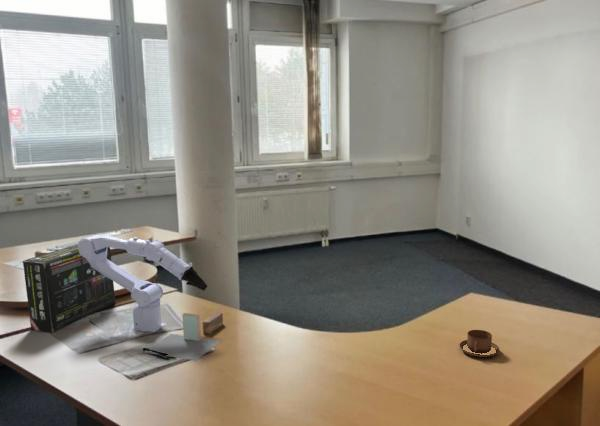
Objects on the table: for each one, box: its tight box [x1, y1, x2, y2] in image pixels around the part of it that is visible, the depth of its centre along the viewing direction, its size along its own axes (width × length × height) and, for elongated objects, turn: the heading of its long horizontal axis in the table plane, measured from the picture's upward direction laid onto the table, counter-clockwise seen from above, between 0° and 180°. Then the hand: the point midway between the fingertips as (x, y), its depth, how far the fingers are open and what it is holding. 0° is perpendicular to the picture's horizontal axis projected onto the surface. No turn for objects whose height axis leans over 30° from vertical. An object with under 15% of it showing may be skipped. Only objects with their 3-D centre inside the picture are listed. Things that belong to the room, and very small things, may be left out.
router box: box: [22, 244, 117, 333], centre depth 206 cm, size 36×11×27 cm, turn 160°
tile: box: [181, 312, 202, 341], centre depth 180 cm, size 6×1×9 cm, turn 70°
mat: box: [142, 333, 221, 361], centre depth 176 cm, size 20×16×1 cm
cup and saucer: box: [459, 329, 500, 358], centre depth 168 cm, size 12×12×6 cm
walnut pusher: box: [202, 312, 224, 335], centre depth 190 cm, size 2×10×5 cm, turn 160°
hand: (204, 286), depth 185 cm, fingers open, 7 cm apart
